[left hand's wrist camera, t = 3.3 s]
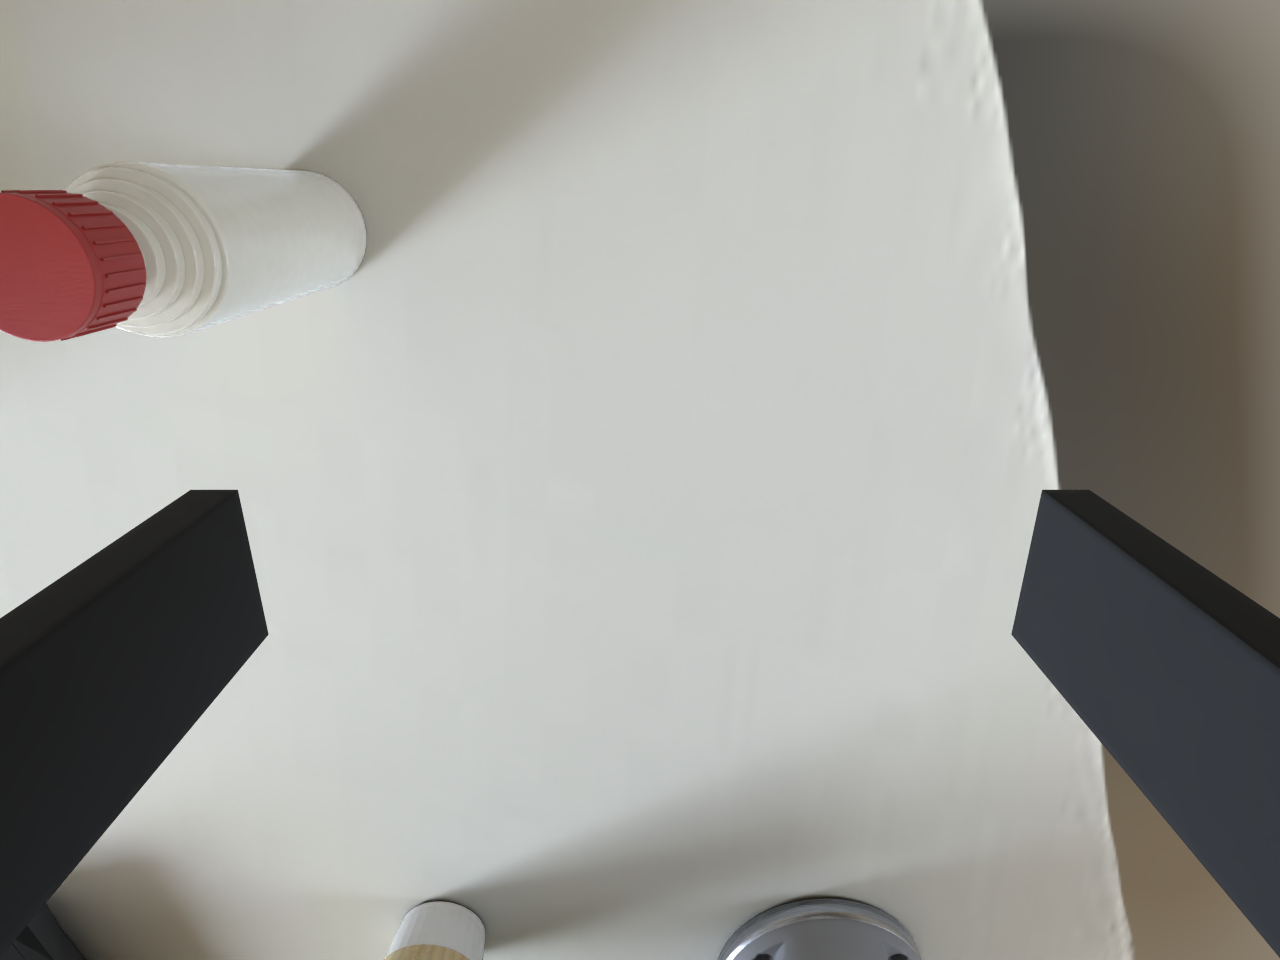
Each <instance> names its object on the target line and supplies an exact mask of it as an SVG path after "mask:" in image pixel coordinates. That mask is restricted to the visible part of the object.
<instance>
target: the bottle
mask: <svg viewBox="0 0 1280 960" xmlns="http://www.w3.org/2000/svg"><path fill="white" fill-rule="evenodd" d="M64 190H66V191H67V193H73V194H83V196H84V197H87V198H89V199H92V200H96V201H98V202H99V204H101V205H103V206H104V207H106V208H107V209H108V210H111V211H112V212H113V213H114V214H115V215H116V216H117V217H118V218H119V219H120V220H121V221H122V222H123V223H124V224H125V225H126V226H127V228H128V229H129V230H130V232H131V233H132V234H133V236H134V238H135V240H136V241H137V243H138V245H139V248H140V250H141V252H142V255H143V258H144V262H145V267H146V287H145V292H144V295H143V300H141V302H140V304H139V306H138V307H137V311H136V312H133V314H131V315H130V316H129V317H128V320H127V321H123V322H120V323H118V324H116V325H117V326H116V327H118V328H120V329H122V330H125V331H128V332H132V333H136V334H141V335H145V336H151V337H162V338H167V337H177V336H181V335H185V334H188V333H191V332H195V331H198V330H201V329H204V328H207V327H210V326H213V325H216V324H219V323H222V322H225V321H228V320H231V319H235V318H238V317H241V316H244V315H247V314H250V313H253V312H256V311H259V310H262V309H265V308H268V307H271V306H274V305H278V304H281V303H284V302H287V301H290V300H293V299H296V298H299V297H302V296H305V295H308V294H311V293H314V292H318V291H321V290H324V289H327V288H330V287H333V286H336V285H338V284H340V283H342V282H344V281H346V280H347V279H348V278H349V277H351V276H352V275H353V274H354V272H355V271H356V270H357V269H358V267H359V266H360V264H361V262H362V259H363V257H364V253H365V249H366V228H365V224H364V220H363V217H362V214H361V212H360V210H359V208H358V206H357V204H356V203H355V201H354V200H353V198H352V197H351V196H350V195H349V193H348V192H347V191H346V190H345V189H344V188H343V187H341V186H340V185H339V184H338V183H336V182H335V181H333V180H332V179H330V178H328V177H326V176H324V175H322V174H319V173H315V172H311V171H301V170H280V169H259V168H239V167H218V166H197V165H176V164H155V163H134V162H115V163H108V164H104V165H100V166H97V167H95V168H93V169H90V170H88V171H87V172H85V173H84V174H82V175H81V176H79V177H78V178H76V179H75V180H73V181H72V182H71V183H70V184H69V185H68V186H67V187H66V188H65V189H64Z"/></svg>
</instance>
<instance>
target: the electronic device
mask: <svg viewBox="0 0 1280 960" xmlns="http://www.w3.org/2000/svg"><path fill="white" fill-rule="evenodd" d="M0 960H85V959H84V958H83V956H82V955H81V954H80V953H79V951H78V950H77V949H76V947H75V946H74V945H73V944H72V942H71V941H70V940H69V939H68V937H67V936H66V935H65V933H64V932H63V931H62V930H61V928H60V926H59V925H58V923H57V922H56V920H55V918H54V917H53V915H52V914H51V912H50V910H49V909H48V907H47V905H46V904H44V906H43V907H42V908H41V909H40V910H39V912H38V913H37V914H36V915H35V916H34V918H33V919H32V920H31V921H30V922H29V924H28V925H27V926H26V927H25V928H24V930H23V931H22V932H21V933H20V934H19V936H18V937H17V938H16V939H15V941H14V942H13V943H12V944H11V945H10V947H9V948H8V949H7V950H6V951H5V953H4V954H3V955H2V956H1V957H0Z"/></svg>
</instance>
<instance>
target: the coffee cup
mask: <svg viewBox="0 0 1280 960" xmlns="http://www.w3.org/2000/svg"><path fill="white" fill-rule="evenodd" d="M484 943H485V929H484V926H483V924H482V922H481V920H480V919H479V918H478V917H477V916H476V915H475V914H474V913H473V912H472V911H470V910H469V909H467V908H465V907H463V906H460V905H458V904H454V903H450V902H440V901H438V902H428V903H424V904H421V905H419V906H416V907H415V908H413V909H412V910H410V911H409V912H408V913H407V914H406V915H405V917H404V918H403V920H402V922H401V924H400V927H399V929H398V931H397V933H396V935H395V938H394V940H393V942H392V944H391V946H390V949H389V951H388V953H387V955H386V957H385V959H384V960H483V955H484Z"/></svg>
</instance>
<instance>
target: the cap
mask: <svg viewBox="0 0 1280 960" xmlns="http://www.w3.org/2000/svg"><path fill="white" fill-rule="evenodd" d="M1 192H2V193H0V330H2V331H3V332H5V333H7V334H10V335H12V336H15V337H18V338H22V339H25V340H31V341H41V342H46V341H55V340H59V339H61V341H62V340H67V339H71V338H74V337H79V336H83V335H86V334H90V333H94V332H98V331H101V330H105V329H109V328H112V327H116V326H117V325H116V324H118V323H120V322H123V321H127V320H128V317H129V316H130V315H131V314H133V312H136V311H137V307H138V306H139V304H140V302H141V300H143V295H144V292H145V287H146V267H145V262H144V258H143V255H142V252H141V250H140V248H139V245H138V243H137V241H136V240H135V238H134V236H133V234H132V233H131V232H130V230H129V229H128V228H127V226H126V225H125V224H124V223H123V222H122V221H121V220H120V219H119V218H118V217H117V216H116V215H115V214H114V213H113V212H112V211H111V210H108V209H107V208H106V207H104V206H103V205H101V204H99V202H98V201H96V200H92V199H89V198H87V197H84V196H83V194H73V193H67V191H66V190H15V191H1Z"/></svg>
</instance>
